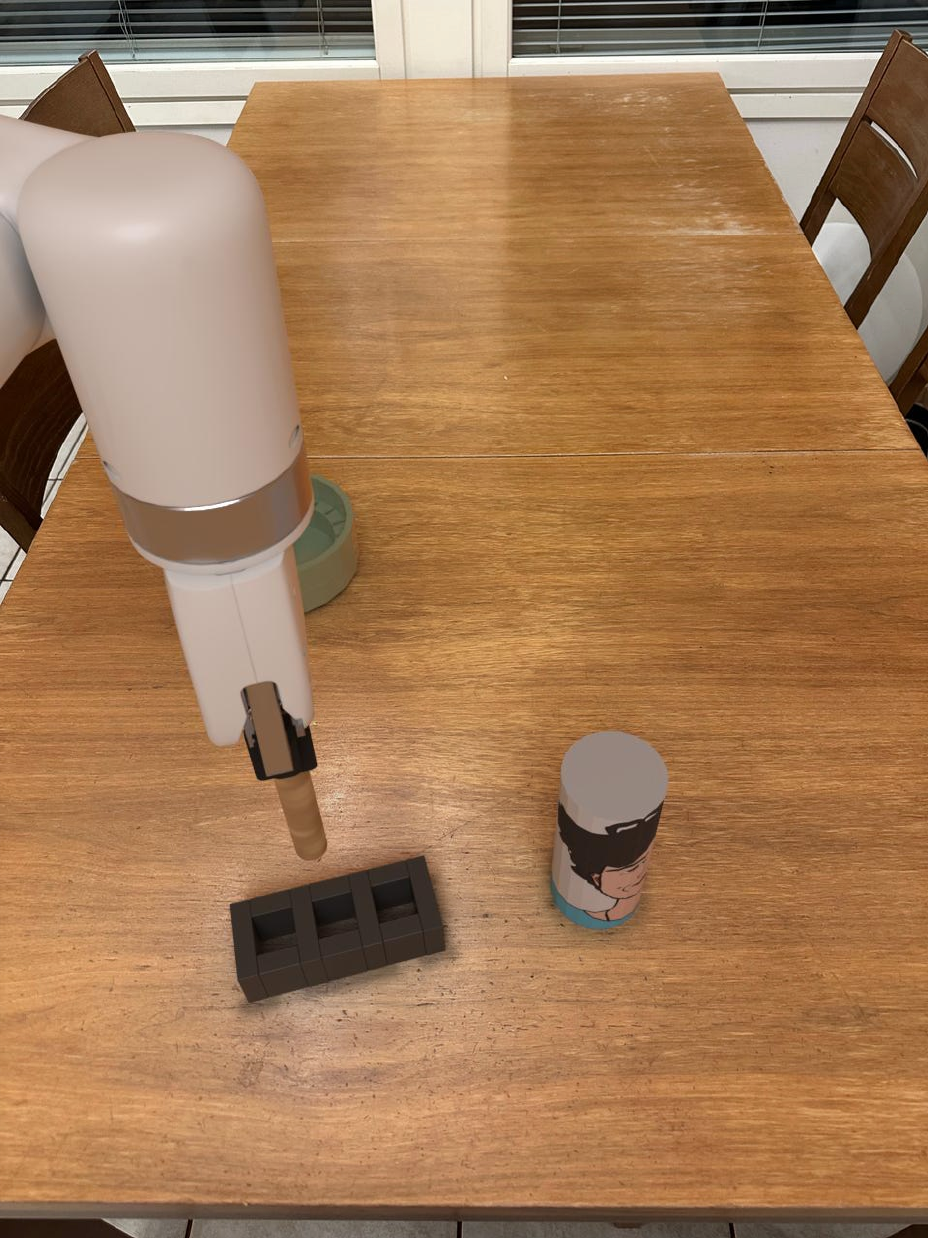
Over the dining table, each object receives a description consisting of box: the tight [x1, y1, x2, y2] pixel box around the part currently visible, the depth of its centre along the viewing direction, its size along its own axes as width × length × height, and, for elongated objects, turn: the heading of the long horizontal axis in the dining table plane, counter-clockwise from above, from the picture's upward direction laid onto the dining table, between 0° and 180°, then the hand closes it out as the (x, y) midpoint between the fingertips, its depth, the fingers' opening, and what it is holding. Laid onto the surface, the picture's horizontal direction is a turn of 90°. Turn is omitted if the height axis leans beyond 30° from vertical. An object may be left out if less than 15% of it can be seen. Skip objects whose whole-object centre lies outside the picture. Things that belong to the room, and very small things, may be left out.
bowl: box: [293, 472, 361, 614], centre depth 92 cm, size 15×15×6 cm
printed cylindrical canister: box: [549, 730, 670, 930], centre depth 65 cm, size 7×7×15 cm
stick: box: [273, 711, 328, 862], centre depth 53 cm, size 2×2×16 cm
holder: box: [229, 854, 446, 1004], centre depth 67 cm, size 14×6×4 cm, turn 105°
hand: (283, 749), depth 51 cm, fingers closed on stick, 2 cm apart
